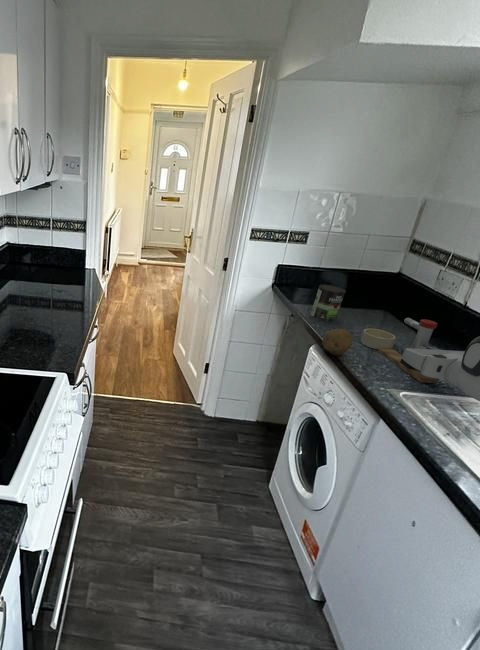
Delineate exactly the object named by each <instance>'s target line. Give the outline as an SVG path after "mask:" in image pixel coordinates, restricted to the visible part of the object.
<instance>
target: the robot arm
mask: <svg viewBox="0 0 480 650" xmlns="http://www.w3.org/2000/svg"><path fill="white" fill-rule="evenodd" d="M402 359H403V360H404V361H405V362H407V363H408V364H409V365H411V366H412V367H414V368H415V369H418V370H420V371H421V374H422V375H424V376H427V377H432V378H436V379H437V380H440V381H443V382H446V383H449V384H451V385H452V386H454V387H457V388H459V389H460V391H462V392H463V393H464V394H465V395H468V396H469V397H470V398H472V399H474V400H476V401H478V402H480V335H479V336H477V337H475V338H474V339H472V340H471V342H470V343H469V344H468V345H467V346H466V348H465V350H447V349H437V348H434V347H431V346H428V345H427V346H419V348H418V349H414V348H411V347H406V348H404V351H403V353H402Z"/></svg>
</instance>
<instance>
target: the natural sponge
mask: <svg viewBox="0 0 480 650" xmlns="http://www.w3.org/2000/svg"><path fill="white" fill-rule="evenodd" d="M353 340H354V339H353V336H352V334H351V333H350V332H349V331H348V330H346V329H343V328H334V329H331V330H329V331H327V332H326V333H325V334H324V336H323V337H322V342H321V344H322V346H323V348H324V349H325V350H326V351H327V352H329V354H330V355H332V356H341V355H343V354H345V353H346V352H347V351H348V350H350V349H351V348H352V346H353V343H354V341H353Z"/></svg>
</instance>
